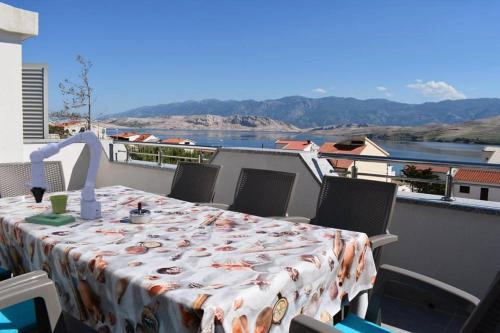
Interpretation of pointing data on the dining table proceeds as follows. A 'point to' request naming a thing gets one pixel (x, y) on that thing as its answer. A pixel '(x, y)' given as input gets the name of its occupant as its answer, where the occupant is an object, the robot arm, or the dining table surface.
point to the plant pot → (59, 203)
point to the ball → (46, 213)
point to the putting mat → (50, 219)
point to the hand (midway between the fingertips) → (38, 202)
